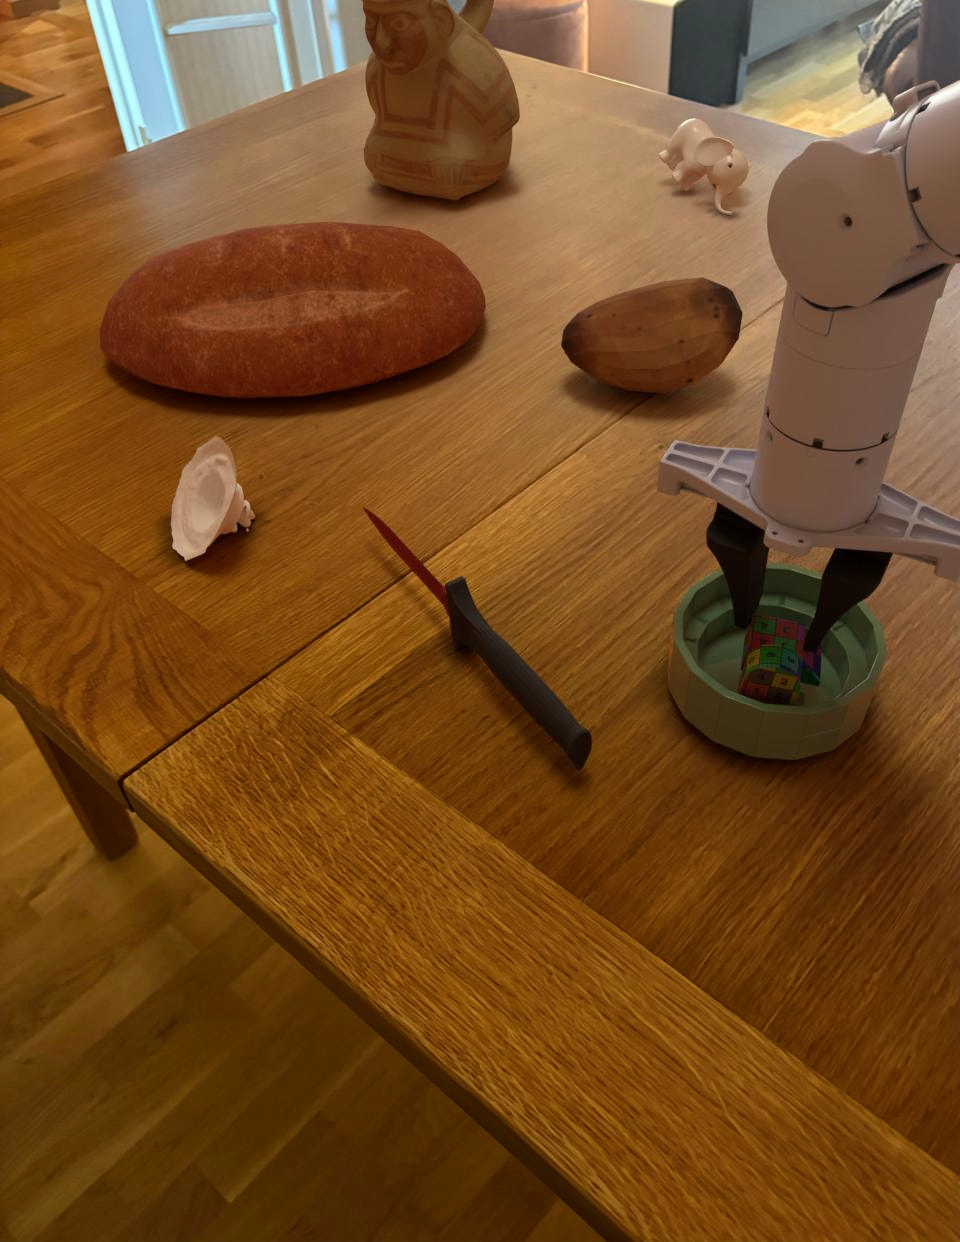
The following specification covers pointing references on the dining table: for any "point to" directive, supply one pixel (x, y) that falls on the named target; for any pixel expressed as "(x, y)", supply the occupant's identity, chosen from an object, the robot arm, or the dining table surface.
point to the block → (777, 661)
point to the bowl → (713, 669)
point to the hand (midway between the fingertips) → (779, 627)
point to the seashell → (207, 500)
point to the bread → (291, 310)
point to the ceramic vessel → (436, 98)
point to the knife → (498, 655)
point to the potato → (655, 335)
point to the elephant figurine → (705, 160)
